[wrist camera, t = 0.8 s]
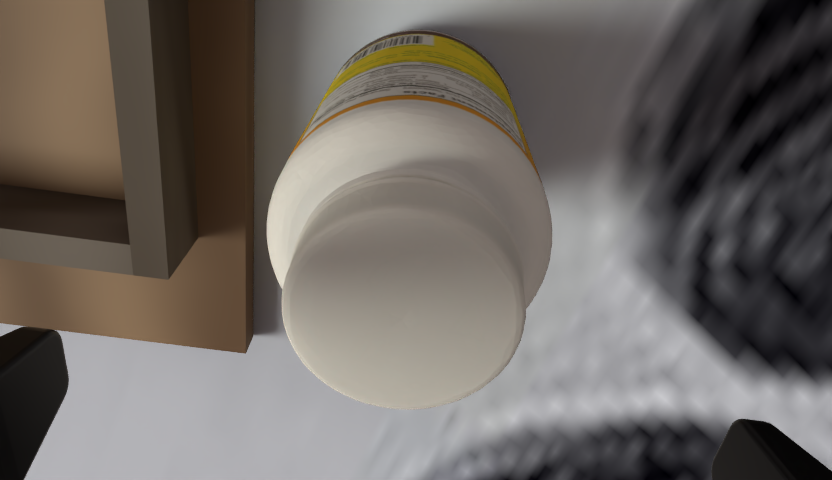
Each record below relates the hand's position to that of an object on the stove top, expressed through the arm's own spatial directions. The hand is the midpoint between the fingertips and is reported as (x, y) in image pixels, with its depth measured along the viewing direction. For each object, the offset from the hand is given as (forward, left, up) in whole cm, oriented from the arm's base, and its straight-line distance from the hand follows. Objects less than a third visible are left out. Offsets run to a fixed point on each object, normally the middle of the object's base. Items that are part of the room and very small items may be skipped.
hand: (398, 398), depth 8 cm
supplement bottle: (0, 0, -12) cm, 12 cm away
